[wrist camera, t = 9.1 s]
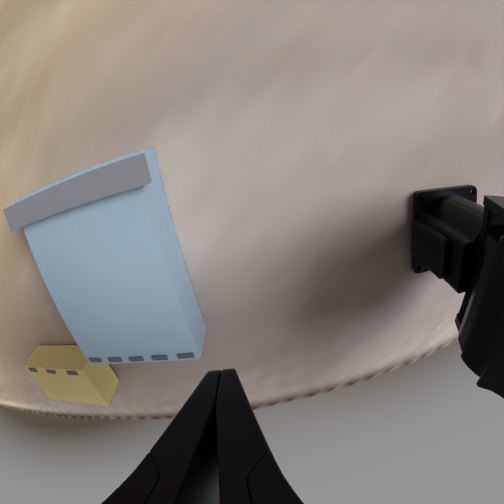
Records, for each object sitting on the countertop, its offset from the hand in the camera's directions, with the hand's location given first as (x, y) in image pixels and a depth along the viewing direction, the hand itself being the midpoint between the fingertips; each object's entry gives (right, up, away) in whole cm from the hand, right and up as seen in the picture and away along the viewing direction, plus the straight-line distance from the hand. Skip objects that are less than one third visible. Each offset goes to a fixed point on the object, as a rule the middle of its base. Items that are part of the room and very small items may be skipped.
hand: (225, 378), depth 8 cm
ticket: (-9, +3, +12) cm, 15 cm away
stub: (-17, -8, +16) cm, 25 cm away
